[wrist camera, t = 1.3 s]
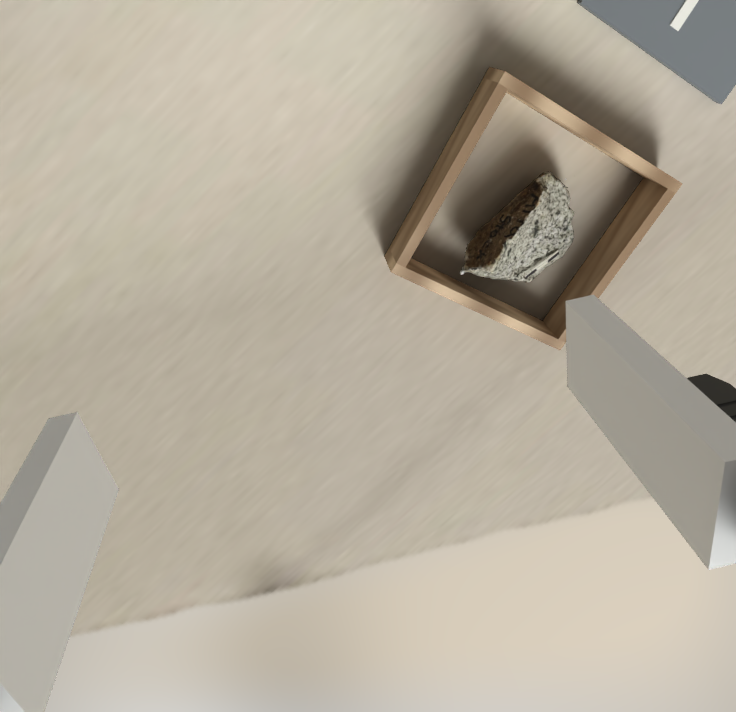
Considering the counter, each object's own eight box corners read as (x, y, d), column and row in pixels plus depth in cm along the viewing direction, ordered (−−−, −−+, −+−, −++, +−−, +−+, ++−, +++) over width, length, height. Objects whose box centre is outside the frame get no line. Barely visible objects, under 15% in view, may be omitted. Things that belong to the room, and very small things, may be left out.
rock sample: (546, 331, 50) (543, 297, 42) (464, 295, 53) (446, 256, 45) (603, 223, 51) (611, 169, 42) (519, 194, 53) (512, 137, 45)
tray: (384, 256, 49) (391, 272, 46) (489, 66, 43) (505, 70, 40) (544, 331, 54) (559, 350, 51) (657, 173, 48) (682, 183, 45)
